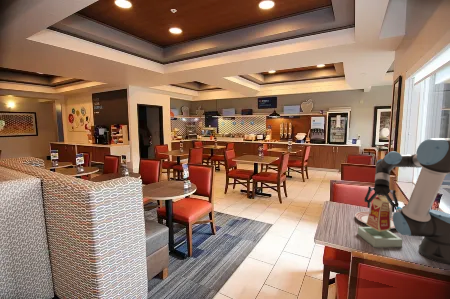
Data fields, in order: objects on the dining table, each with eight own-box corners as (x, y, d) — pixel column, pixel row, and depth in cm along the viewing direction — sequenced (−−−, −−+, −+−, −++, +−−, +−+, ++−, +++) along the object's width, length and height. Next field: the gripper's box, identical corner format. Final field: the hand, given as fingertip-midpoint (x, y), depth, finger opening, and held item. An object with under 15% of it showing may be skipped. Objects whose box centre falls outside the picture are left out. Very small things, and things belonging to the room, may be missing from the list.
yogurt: (395, 214, 172) (396, 206, 172) (397, 214, 172) (398, 206, 172) (407, 221, 160) (408, 212, 160) (409, 221, 160) (410, 212, 160)
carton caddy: (401, 247, 126) (402, 239, 126) (374, 247, 126) (374, 239, 126) (382, 233, 142) (382, 226, 141) (357, 234, 142) (358, 227, 141)
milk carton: (379, 231, 128) (382, 197, 126) (365, 224, 137) (368, 192, 135) (391, 229, 131) (395, 196, 128) (377, 222, 139) (380, 191, 137)
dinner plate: (371, 232, 144) (371, 227, 144) (347, 215, 171) (347, 211, 171) (413, 231, 145) (414, 226, 145) (382, 214, 172) (382, 210, 172)
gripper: (403, 187, 137) (403, 222, 126) (361, 182, 150) (358, 213, 139) (405, 180, 132) (405, 216, 121) (361, 176, 145) (358, 207, 134)
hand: (380, 214), depth 130 cm, fingers closed on milk carton, 9 cm apart
